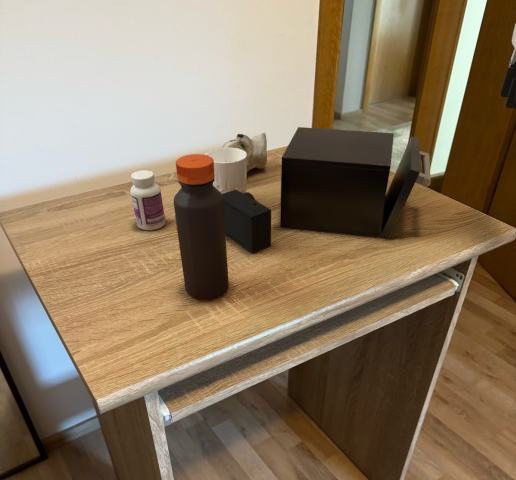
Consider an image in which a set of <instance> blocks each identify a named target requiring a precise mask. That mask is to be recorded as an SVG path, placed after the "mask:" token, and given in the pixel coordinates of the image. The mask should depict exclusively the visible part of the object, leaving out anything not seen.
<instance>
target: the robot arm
mask: <svg viewBox="0 0 516 480" xmlns="http://www.w3.org/2000/svg"><path fill="white" fill-rule="evenodd" d="M511 44H512V46H513V48H514V49H513V51H512V52H513V53H512V55H511V57H510V60H509V63H508V67H507V69H506V72H505V76H504V79H503V83H502V86H501V89H500V93H499V95H500V97H502V98H506V101H505V104H504V105H505V107H506V108H507V109H516V23H515V24H514V28H513V32H512V37H511Z"/></svg>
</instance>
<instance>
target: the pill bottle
mask: <svg viewBox="0 0 516 480" xmlns="http://www.w3.org/2000/svg"><path fill="white" fill-rule="evenodd" d="M130 177H131V183H132V184H133V185H132V186H131V187H130V197H131V202H132V206H133V211H134V216H135V217H134V218H135V220H136V225H137V227H138V228H139V229H141V230H143V231H155V230H158V229H160V228H163V226H165V224H166V215H165V210H164V203H163V196H162V192H161V191H162V190H161V186H160V185H159V184H158V183H157V182H156V177H155V173H154V172H153V171H152V170H145V169H143V170H136V171H135V172H132V174H131V175H130Z"/></svg>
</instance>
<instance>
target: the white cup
mask: <svg viewBox="0 0 516 480" xmlns="http://www.w3.org/2000/svg"><path fill="white" fill-rule="evenodd" d="M204 155H208V156H210V157H211V158H213V160H214V172H215V181H214V182H213V186H214V187H215V188H216V189H218V190H219V191H220V192H221V194H223V193H226V192H230V191H233V190H238V191H239V192H241V193H246V192H247V180H248V179H247V178H248V177H247V174H248V171H247V153H246V152H245V151H243V150H241V149H238V148H229V147H226V148H222V147H218V148H217V147H216V148H213V149H210V150H208V151H207V152H206V153H205V154H204Z"/></svg>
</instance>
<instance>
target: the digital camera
mask: <svg viewBox="0 0 516 480" xmlns="http://www.w3.org/2000/svg"><path fill="white" fill-rule="evenodd" d="M222 195H223V202H224V218H225V233H226V238H228V239H230V240H231V241H233V242H234V243H235V244H238V245H239V246H240V247H242V248H243V249H244V250H246V251H247V252H249V253H251V254H255V253H257V252H260V251H262V250H265V249H267V248H270V247H271V246H272V209H271V208H270V207H268V206H266V205H264V204H262V203H260V202H259V201H257V200H256V198H255V197H254V195H253V194H252V193H251V192H249V191H246V193H241V192H239V191H238V190H233V191H230V192H226V193H223V194H222Z"/></svg>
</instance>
